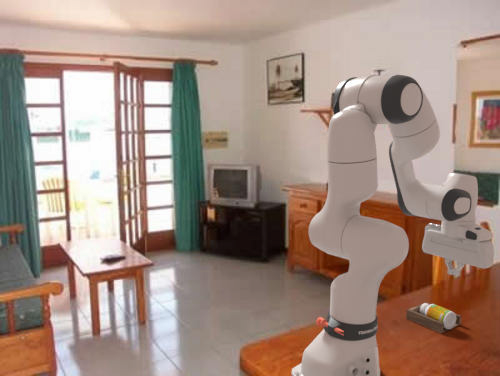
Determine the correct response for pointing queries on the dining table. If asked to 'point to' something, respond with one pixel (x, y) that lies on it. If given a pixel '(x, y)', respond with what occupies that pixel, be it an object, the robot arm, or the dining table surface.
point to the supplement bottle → (439, 314)
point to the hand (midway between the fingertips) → (453, 274)
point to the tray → (428, 320)
